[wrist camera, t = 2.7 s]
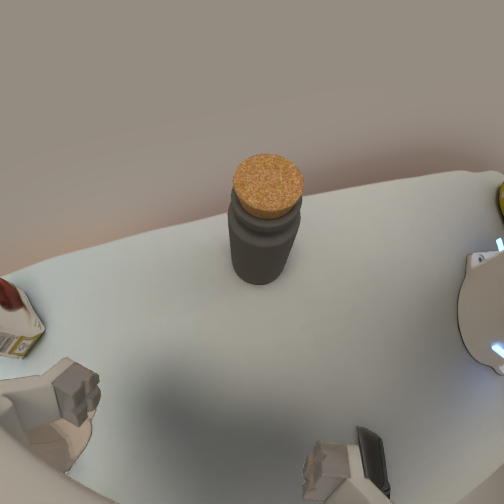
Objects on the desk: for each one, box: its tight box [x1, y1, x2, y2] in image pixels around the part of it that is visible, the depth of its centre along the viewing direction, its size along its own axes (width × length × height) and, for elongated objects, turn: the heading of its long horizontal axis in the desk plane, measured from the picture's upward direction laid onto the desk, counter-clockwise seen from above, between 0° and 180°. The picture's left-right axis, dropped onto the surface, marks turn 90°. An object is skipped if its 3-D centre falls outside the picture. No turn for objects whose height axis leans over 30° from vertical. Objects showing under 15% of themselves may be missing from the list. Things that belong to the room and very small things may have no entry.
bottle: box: [228, 154, 304, 285], centre depth 26 cm, size 6×6×15 cm
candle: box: [25, 410, 96, 473], centre depth 15 cm, size 7×14×20 cm, turn 145°
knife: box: [357, 427, 390, 499], centre depth 23 cm, size 14×4×1 cm, turn 11°
